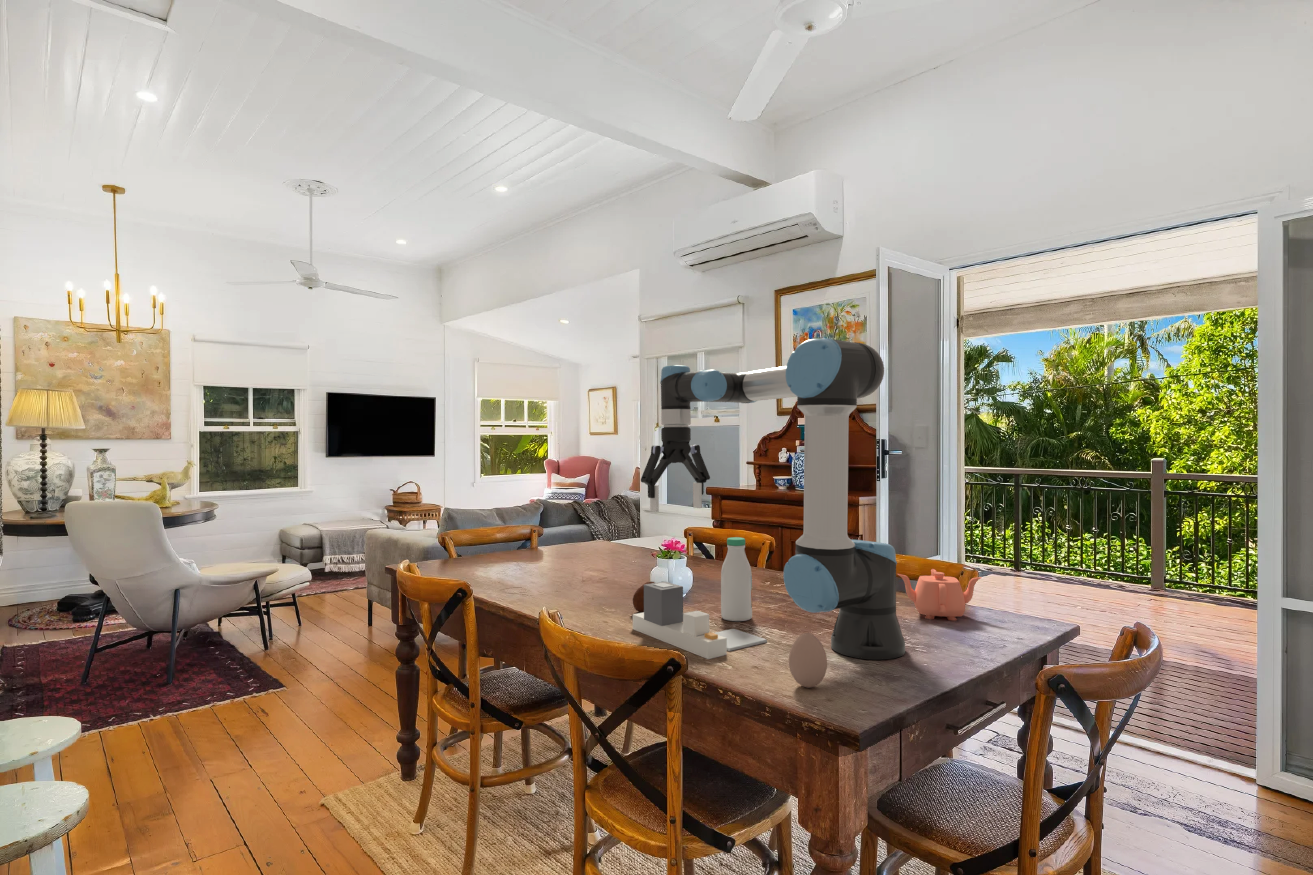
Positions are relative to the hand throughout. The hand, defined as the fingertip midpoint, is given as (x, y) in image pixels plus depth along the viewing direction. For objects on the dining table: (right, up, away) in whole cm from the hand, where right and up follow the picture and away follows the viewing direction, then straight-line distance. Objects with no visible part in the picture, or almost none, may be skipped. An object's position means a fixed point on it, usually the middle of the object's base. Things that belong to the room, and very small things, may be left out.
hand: (676, 509), depth 182 cm
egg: (+22, -27, -53) cm, 63 cm away
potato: (-6, -27, +3) cm, 28 cm away
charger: (-4, -23, -20) cm, 31 cm away
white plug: (+3, -23, -29) cm, 38 cm away
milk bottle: (+15, -27, -4) cm, 31 cm away
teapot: (+66, -27, -2) cm, 71 cm away
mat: (+12, -27, -24) cm, 37 cm away
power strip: (-1, -27, -24) cm, 36 cm away
